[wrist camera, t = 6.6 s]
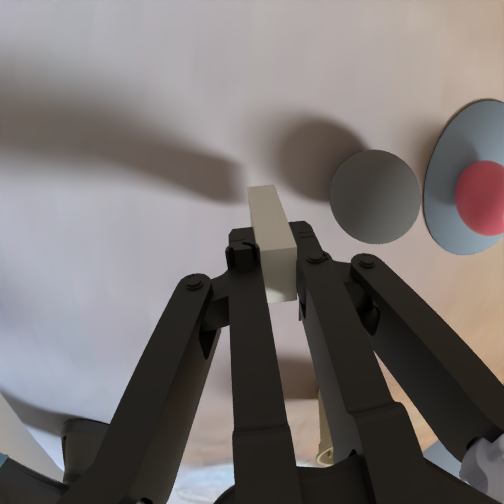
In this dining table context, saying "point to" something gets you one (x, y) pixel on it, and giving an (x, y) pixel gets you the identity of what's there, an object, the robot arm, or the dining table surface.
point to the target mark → (452, 165)
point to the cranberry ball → (481, 197)
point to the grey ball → (375, 196)
